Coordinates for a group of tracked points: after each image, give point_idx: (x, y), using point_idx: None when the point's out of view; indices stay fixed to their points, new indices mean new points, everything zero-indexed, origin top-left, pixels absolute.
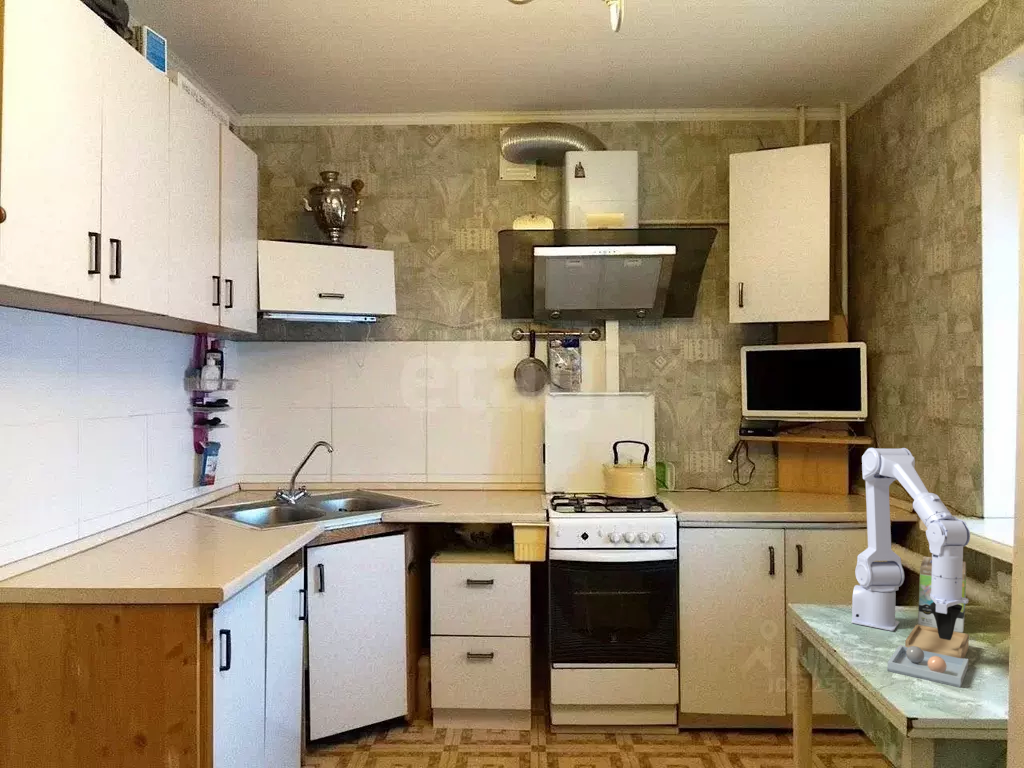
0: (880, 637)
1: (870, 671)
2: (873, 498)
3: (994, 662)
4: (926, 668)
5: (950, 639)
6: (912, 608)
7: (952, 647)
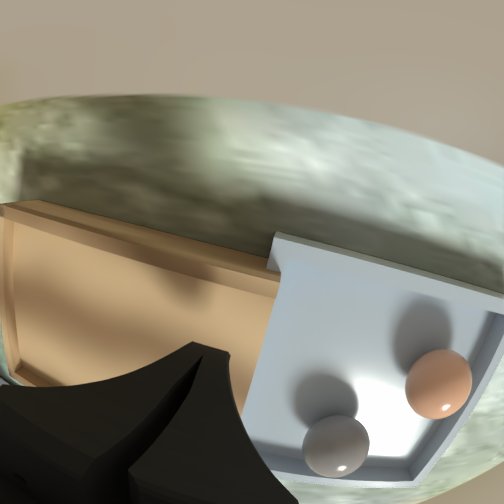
0: None
1: (419, 489)
2: None
3: (145, 112)
4: (387, 395)
5: (228, 354)
6: None
7: (159, 296)
